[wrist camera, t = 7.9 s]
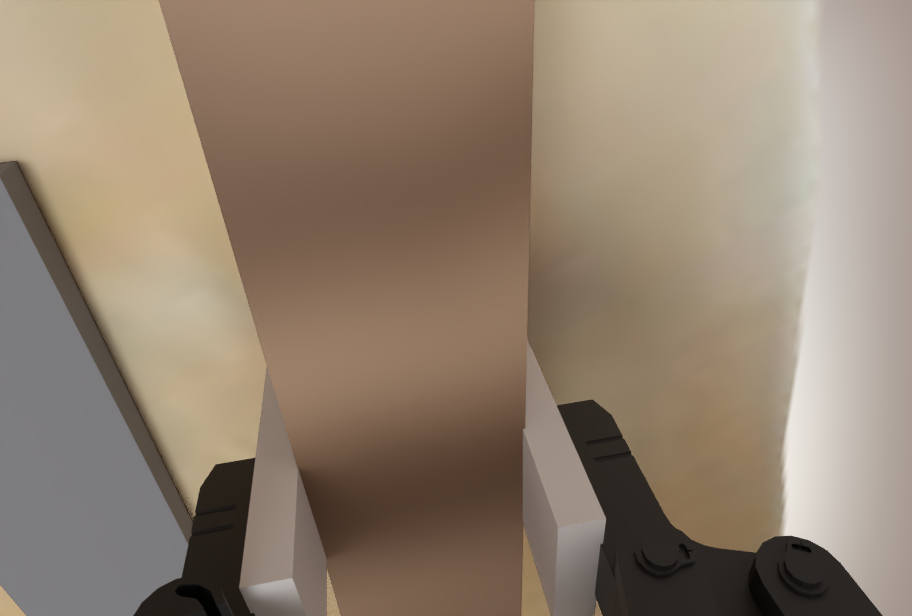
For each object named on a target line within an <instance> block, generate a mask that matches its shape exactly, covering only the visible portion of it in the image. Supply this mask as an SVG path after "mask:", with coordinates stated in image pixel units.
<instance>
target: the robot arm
mask: <svg viewBox="0 0 912 616" xmlns="http://www.w3.org/2000/svg"><path fill="white" fill-rule="evenodd" d="M195 512H196V516H194V520H193V525H192V530H191V533H192V536H190V539H189V544H188V549H187V554H186V558H185V563H184V568H183V573H182V577H181V578H178V579H175V580H173V581H171V582H169V583H167V584H165V585H163V586H161V587H159V588H158V589H156V590H155V591H154V592H153V593H152V594H151V595H150V596H149V597H147V598H146V599H145V600H144V601H143V602H142V603H141V605H140V606H139V608H138V609H137V611H136V612H135V614H134V615H133V616H327V559H326V555H325V552H324V549H323V546H322V543H321V539H320V536H319V533H318V530H317V527H316V524H315V520H314V517H313V514H312V511H311V508H310V504H309V501H308V498H307V495H306V492H305V488H304V485H303V482H302V479H301V476H300V473H299V469H298V468H297V465H296V462H295V458H294V455H293V451H292V448H291V445H290V441H289V438H288V435H287V431H286V428H285V424H284V421H283V418H282V414H281V411H280V408H279V404H278V401H277V397H276V394H275V391H274V387H273V384H272V381H271V377H270V374H269V370H268V367H267V370H266V378H265V386H264V394H263V402H262V410H261V418H260V426H259V434H258V442H257V450H256V458H252V459H246V460H240V461H234V462H228V463H222V464H216V465H215V466H214V468H213V469H212V471H211V472H210V474H209V475H208V477H207V478H206V480H205V481H204V483H203V484H202V486H201V487H200V492H199V497H198V501H197V506H196V511H195ZM523 525H524V528H525V532H526V535H527V538H528V542H529V545H530V548H531V551H532V555H533V558H534V561H535V564H536V568H537V571H538V574H539V578H540V581H541V584H542V587H543V591H544V594H545V597H546V601H547V604H548V607H549V610H550V614H551V616H590V615H595V607H596V599H597V601H598V604H599V607H600V609H601V612H602V615H603V616H882V615H881V613H880V612H879V611H878V610H877V608H876V607H875V606H874V605H873V603H872V602H871V601H870V600H869V598H868V597H867V596H866V595H865V593H864V592H863V591H862V590H861V588H860V587H859V586H858V585H857V583H856V582H855V581H854V580H853V578H852V577H851V576H850V575H849V573H848V572H847V571H846V570H845V568H844V567H843V566H842V565H841V563H840V562H838V561H837V560H836V559H835V558H834V557H833V556H832V555H831V554H830V553H829V552H828V551H826V550H825V549H824V548H822V547H820V546H818V545H816V544H815V543H813V542H811V541H809V540H805V539H801V538H798V537H794V536H778V537H774V538H772V539H769V540H767V541H765V542H763V543H762V545H761V546H760V548H759V550H758V551H757V553H753V552H744V551H736V550H727V549H718V548H714V547H709V546H705V545H702V544H700V543H697V542H695V541H693V540H691V539H690V538H689V537H687V536H686V535H685V534H684V533H683V532H682V531H680V530H678V529H676V528H675V527H674V526H673V525H672V524H671V523H670V522H669V520H668V519H667V517H666V516H665V514H664V513H663V511H662V509H661V507H660V505H659V503H658V501H657V500H656V498H655V496H654V494H653V492H652V490H651V488H650V486H649V485H648V483H647V481H646V479H645V477H644V475H643V473H642V471H641V470H640V468H639V466H638V464H637V462H636V460H635V458H634V456H632V455H631V451H630V449H629V447H628V445H627V443H626V441H625V440H624V439H623V438H622V434H621V432H620V430H619V428H618V426H617V425H616V423H615V421H614V419H613V417H612V415H611V414H609V413H608V412H607V411H606V410H605V409H603V408H602V407H601V406H600V405H599V404H597V403H596V402H595V401H594V400H587V401H581V402H575V403H569V404H563V405H556V403H555V401H554V399H553V396H552V394H551V392H550V390H549V387H548V385H547V383H546V380H545V378H544V376H543V374H542V371H541V369H540V367H539V364H538V362H537V360H536V358H535V355H534V353H533V351H532V348H531V346H530V344H529V342H528V339H527V368H526V415H525V429H523Z"/></svg>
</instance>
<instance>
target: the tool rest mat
mask: <svg viewBox="0 0 912 616" xmlns="http://www.w3.org/2000/svg"><path fill="white" fill-rule="evenodd" d="M192 525H193V522H192V520H191V518H190V516H189V514H188V512H187V510H186V508H185V506H184V504H183V502H182V499H181V497H180V495H179V493H178V491H177V489H176V487H175V485H174V483H173V481H172V479H171V477H170V475H169V473H168V471H167V469H166V467H165V465H164V463H163V461H162V459H161V457H160V455H159V453H158V451H157V448H156V446H155V444H154V442H153V440H152V438H151V436H150V434H149V432H148V430H147V428H146V426H145V424H144V422H143V420H142V418H141V416H140V414H139V412H138V410H137V408H136V406H135V404H134V402H133V399H132V397H131V395H130V393H129V391H128V389H127V387H126V385H125V383H124V381H123V379H122V377H121V375H120V373H119V371H118V369H117V367H116V365H115V363H114V361H113V359H112V357H111V355H110V353H109V350H108V348H107V346H106V344H105V342H104V340H103V338H102V336H101V334H100V332H99V330H98V328H97V326H96V324H95V322H94V320H93V318H92V316H91V314H90V312H89V310H88V308H87V306H86V304H85V302H84V299H83V297H82V295H81V293H80V291H79V289H78V287H77V285H76V283H75V281H74V279H73V277H72V275H71V273H70V271H69V269H68V267H67V265H66V263H65V261H64V259H63V257H62V255H61V253H60V250H59V248H58V246H57V244H56V242H55V240H54V238H53V236H52V234H51V232H50V230H49V228H48V226H47V224H46V222H45V220H44V218H43V216H42V214H41V212H40V210H39V208H38V206H37V204H36V202H35V199H34V197H33V195H32V193H31V191H30V189H29V187H28V185H27V183H26V181H25V179H24V177H23V175H22V173H21V171H20V169H19V167H18V165H17V163H16V161H14V162H5V163H0V585H1V586H2V588H3V589H4V590H5V591H6V592H7V593H8V595H9V596H10V597H11V598H12V599H13V601H14V602H15V603H16V604H17V605H18V606H19V608H20V609H21V610H22V611H23V612H24V613H25V615H26V616H133V615H134V614H135V612H136V611H137V609H138V608H139V606H140V605H141V603H142V602H143V601H144V600H145V599H146V598H147V597H149V596H150V595H151V594H152V593H153V592H154V591H155V590H156V589H158V588H159V587H161V586H163V585H165V584H167V583H169V582H171V581H173V580H175V579H178V578H181V577H182V573H183V568H184V563H185V558H186V554H187V549H188V544H189V539H190V536H192V533H191V530H192Z"/></svg>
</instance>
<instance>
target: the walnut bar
mask: <svg viewBox="0 0 912 616" xmlns="http://www.w3.org/2000/svg"><path fill="white" fill-rule="evenodd" d="M159 2H160V6H161V9H162V13H163V16H164V19H165V23H166V26H167V29H168V33H169V36H170V40H171V43H172V46H173V50H174V53H175V56H176V60H177V63H178V67H179V70H180V73H181V77H182V80H183V83H184V87H185V90H186V94H187V97H188V100H189V104H190V107H191V110H192V114H193V117H194V121H195V124H196V127H197V131H198V134H199V137H200V141H201V144H202V148H203V151H204V154H205V158H206V161H207V164H208V168H209V171H210V175H211V178H212V181H213V185H214V188H215V192H216V195H217V198H218V202H219V205H220V208H221V212H222V215H223V219H224V222H225V225H226V229H227V232H228V235H229V239H230V242H231V246H232V249H233V252H234V256H235V259H236V262H237V266H238V269H239V273H240V276H241V279H242V283H243V286H244V289H245V293H246V296H247V300H248V303H249V306H250V310H251V313H252V316H253V320H254V323H255V327H256V330H257V333H258V337H259V340H260V343H261V347H262V350H263V354H264V357H265V360H266V364H267V367H268V370H269V374H270V377H271V381H272V384H273V387H274V391H275V394H276V397H277V401H278V404H279V408H280V411H281V414H282V418H283V421H284V424H285V428H286V431H287V435H288V438H289V441H290V445H291V448H292V451H293V455H294V458H295V462H296V465H297V468H298V469H299V473H300V476H301V479H302V482H303V485H304V488H305V492H306V495H307V498H308V501H309V504H310V508H311V511H312V514H313V517H314V520H315V524H316V527H317V530H318V533H319V536H320V539H321V543H322V546H323V549H324V552H325V555H326V559H327V570H328V573H329V576H330V580H331V583H332V586H333V590H334V593H335V597H336V600H337V603H338V607H339V610H340V613H341V616H521V603H522V556H523V429H525V415H526V368H527V321H528V275H529V228H530V181H531V134H532V87H533V40H534V0H159Z"/></svg>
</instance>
